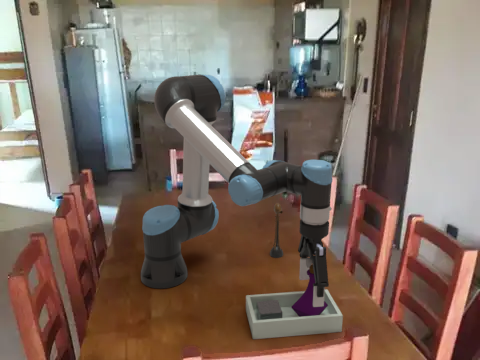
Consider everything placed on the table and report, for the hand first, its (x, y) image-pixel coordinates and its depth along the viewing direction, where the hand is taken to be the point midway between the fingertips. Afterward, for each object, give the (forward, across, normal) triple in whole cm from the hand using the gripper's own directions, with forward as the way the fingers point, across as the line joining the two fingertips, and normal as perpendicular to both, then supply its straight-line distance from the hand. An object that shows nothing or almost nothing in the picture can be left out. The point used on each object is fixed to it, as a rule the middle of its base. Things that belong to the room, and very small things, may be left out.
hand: (310, 291), depth 120 cm
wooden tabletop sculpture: (+9, +39, +1) cm, 40 cm away
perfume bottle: (+8, 0, 0) cm, 8 cm away
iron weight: (+8, 0, +12) cm, 14 cm away
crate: (+9, 0, +5) cm, 10 cm away
